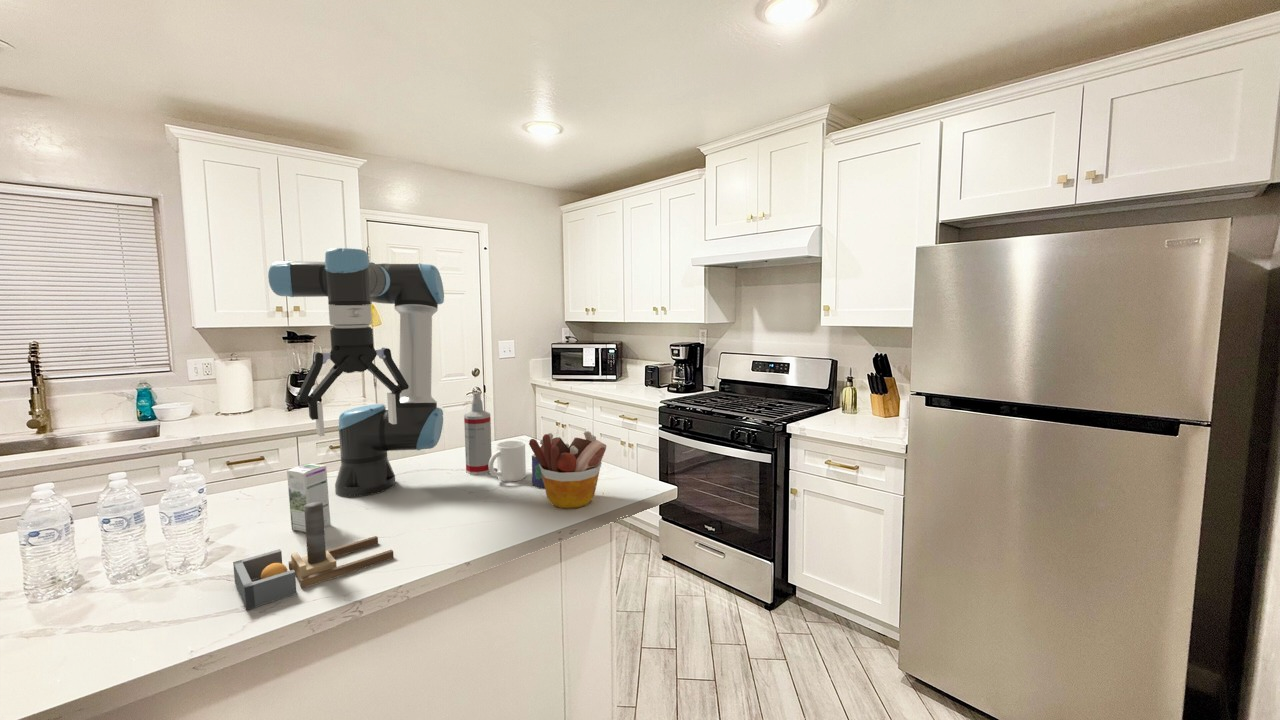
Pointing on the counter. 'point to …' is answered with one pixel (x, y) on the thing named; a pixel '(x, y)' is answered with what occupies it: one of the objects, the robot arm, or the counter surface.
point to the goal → (262, 580)
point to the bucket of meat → (569, 468)
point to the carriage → (313, 545)
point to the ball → (273, 570)
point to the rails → (350, 566)
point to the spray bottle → (477, 438)
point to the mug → (509, 461)
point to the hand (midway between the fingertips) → (358, 428)
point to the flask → (536, 474)
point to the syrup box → (307, 492)
